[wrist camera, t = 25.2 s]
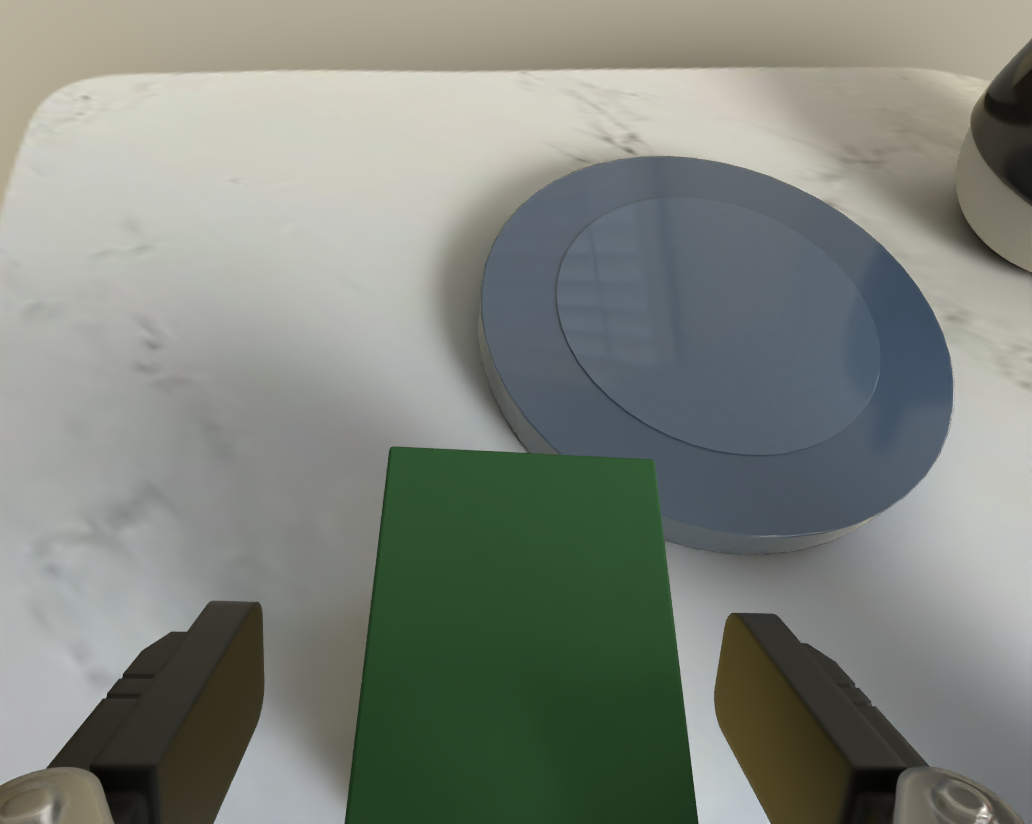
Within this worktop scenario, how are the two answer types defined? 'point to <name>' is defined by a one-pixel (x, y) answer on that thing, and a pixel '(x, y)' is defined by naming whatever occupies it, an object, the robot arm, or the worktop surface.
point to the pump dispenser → (1001, 163)
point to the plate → (717, 349)
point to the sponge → (520, 647)
